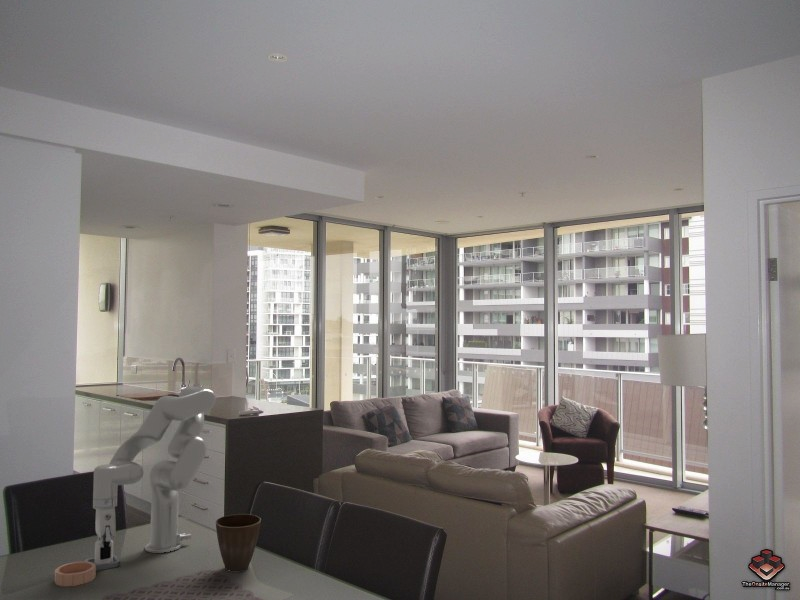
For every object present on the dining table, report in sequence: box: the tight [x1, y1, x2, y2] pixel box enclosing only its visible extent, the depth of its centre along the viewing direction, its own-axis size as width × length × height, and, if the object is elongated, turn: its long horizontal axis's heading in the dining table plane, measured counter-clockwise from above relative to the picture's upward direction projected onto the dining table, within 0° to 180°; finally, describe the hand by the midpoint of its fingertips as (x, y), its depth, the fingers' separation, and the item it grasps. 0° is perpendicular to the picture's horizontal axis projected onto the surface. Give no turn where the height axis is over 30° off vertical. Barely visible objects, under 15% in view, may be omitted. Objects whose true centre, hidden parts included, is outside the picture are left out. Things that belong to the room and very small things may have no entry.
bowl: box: [54, 560, 97, 587], centre depth 203 cm, size 11×11×4 cm
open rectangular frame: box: [83, 553, 121, 572], centre depth 215 cm, size 10×9×2 cm
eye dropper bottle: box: [93, 536, 114, 565], centre depth 216 cm, size 4×6×12 cm
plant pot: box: [215, 513, 262, 572], centre depth 215 cm, size 15×15×16 cm
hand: (103, 555), depth 216 cm, fingers closed on eye dropper bottle, 4 cm apart
